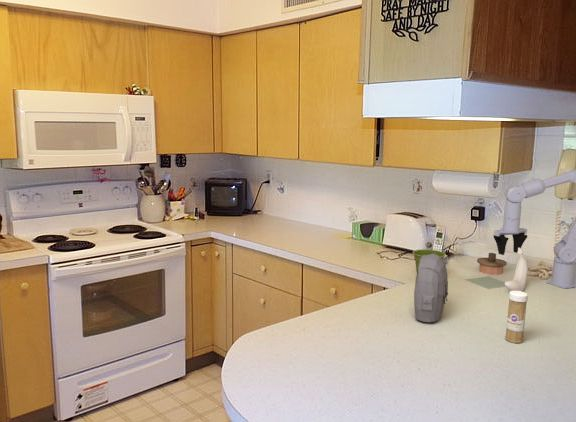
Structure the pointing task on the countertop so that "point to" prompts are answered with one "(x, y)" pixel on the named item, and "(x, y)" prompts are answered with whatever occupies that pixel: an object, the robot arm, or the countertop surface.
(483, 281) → the mat
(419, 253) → the plant pot
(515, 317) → the sprinkles bottle
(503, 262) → the lid
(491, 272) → the bowl
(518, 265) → the white curved piece
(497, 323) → the countertop surface
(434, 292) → the soft grey pack
